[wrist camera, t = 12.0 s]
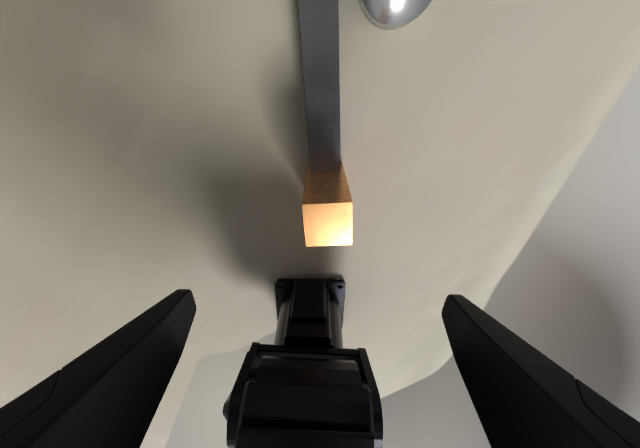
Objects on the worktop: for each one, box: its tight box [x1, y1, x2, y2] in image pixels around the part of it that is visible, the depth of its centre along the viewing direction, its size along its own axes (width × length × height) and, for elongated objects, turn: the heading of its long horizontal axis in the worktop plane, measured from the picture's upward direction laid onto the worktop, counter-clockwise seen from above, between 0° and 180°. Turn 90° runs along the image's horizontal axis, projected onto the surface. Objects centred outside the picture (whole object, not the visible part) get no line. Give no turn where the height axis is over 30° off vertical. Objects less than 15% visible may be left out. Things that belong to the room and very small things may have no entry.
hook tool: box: [298, 0, 352, 247], centre depth 13 cm, size 16×7×7 cm, turn 3°
